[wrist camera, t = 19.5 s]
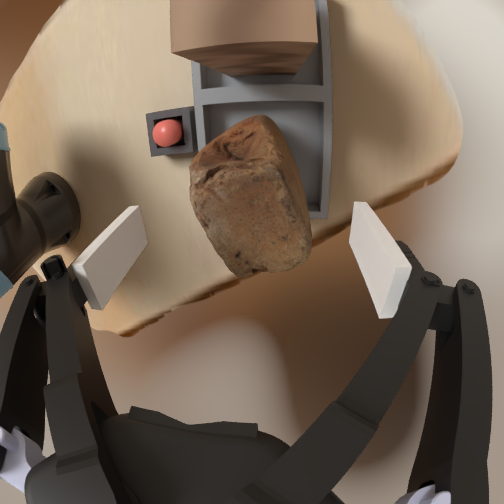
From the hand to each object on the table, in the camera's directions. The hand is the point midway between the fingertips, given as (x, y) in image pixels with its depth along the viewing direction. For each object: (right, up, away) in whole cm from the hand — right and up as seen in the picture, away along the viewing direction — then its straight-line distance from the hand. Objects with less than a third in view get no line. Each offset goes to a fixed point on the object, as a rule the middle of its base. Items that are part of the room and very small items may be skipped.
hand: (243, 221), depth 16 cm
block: (+2, +11, +18) cm, 21 cm away
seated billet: (+2, +25, +9) cm, 26 cm away
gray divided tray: (+2, +18, +14) cm, 23 cm away
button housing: (-10, +15, +18) cm, 25 cm away
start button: (-10, +14, +17) cm, 24 cm away
